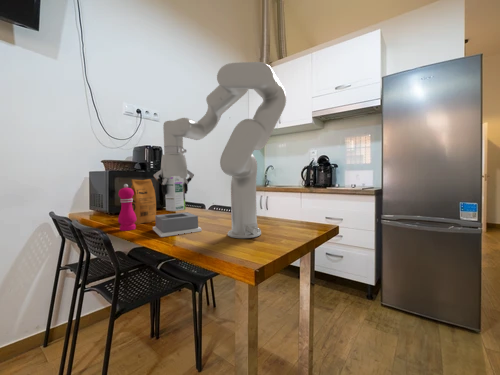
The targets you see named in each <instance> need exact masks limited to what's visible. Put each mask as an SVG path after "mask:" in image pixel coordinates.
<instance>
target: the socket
mask: <svg viewBox="0 0 500 375" xmlns="http://www.w3.org/2000/svg"><path fill="white" fill-rule="evenodd" d="M155 220H156V221H155V226H152V231H153V232H155V233H156V234H157V235H158V236H159V237H160V238H164V237H170V236H176V235H177V236H178V234H179V235H184V233H185V234H191V232H192V233H199V232H202V227H200V226H199V216H198V215H195V214H194V213H191V212H186V211H185V212H177V213H168V214H167V213H165V214H156V215H155Z"/></svg>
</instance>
